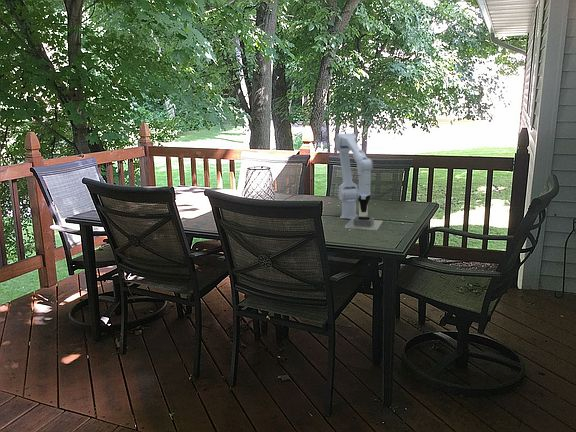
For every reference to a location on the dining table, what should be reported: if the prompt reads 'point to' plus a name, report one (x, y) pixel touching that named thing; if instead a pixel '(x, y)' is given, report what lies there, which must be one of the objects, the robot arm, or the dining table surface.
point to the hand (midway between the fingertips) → (364, 211)
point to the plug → (363, 212)
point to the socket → (364, 223)
